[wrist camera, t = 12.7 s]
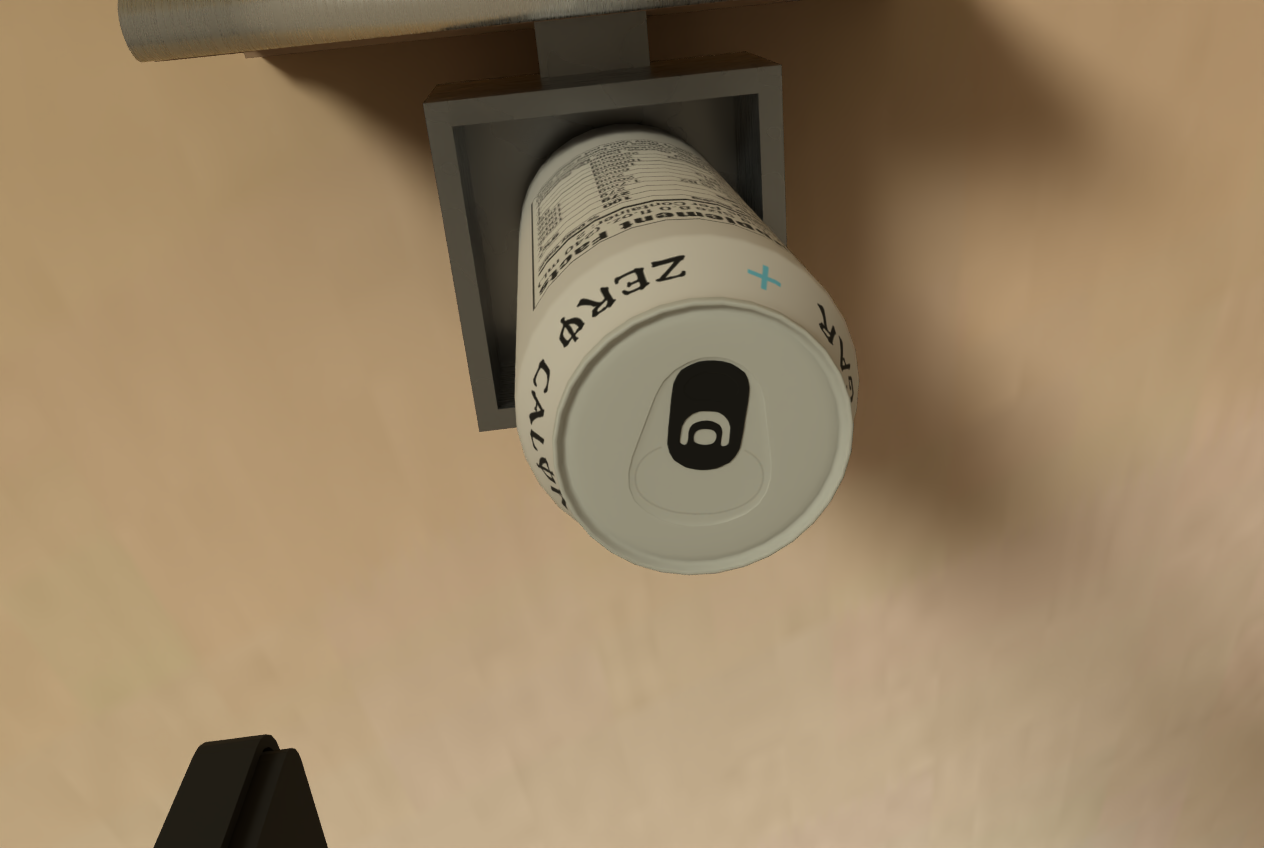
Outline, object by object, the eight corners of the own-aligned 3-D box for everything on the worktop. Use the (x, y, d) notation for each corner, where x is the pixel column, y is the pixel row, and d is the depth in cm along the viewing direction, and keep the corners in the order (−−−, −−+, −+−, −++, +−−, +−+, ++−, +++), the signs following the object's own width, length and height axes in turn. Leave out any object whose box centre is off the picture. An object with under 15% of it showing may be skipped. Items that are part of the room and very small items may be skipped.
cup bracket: (892, 288, 36) (1021, 402, 26) (328, 355, 35) (255, 498, 26) (899, -158, 30) (1069, -215, 21) (223, -92, 29) (78, -121, 20)
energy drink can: (515, 317, 30) (506, 602, 17) (523, 110, 28) (521, 248, 14) (711, 327, 31) (855, 609, 18) (736, 127, 29) (926, 272, 15)
